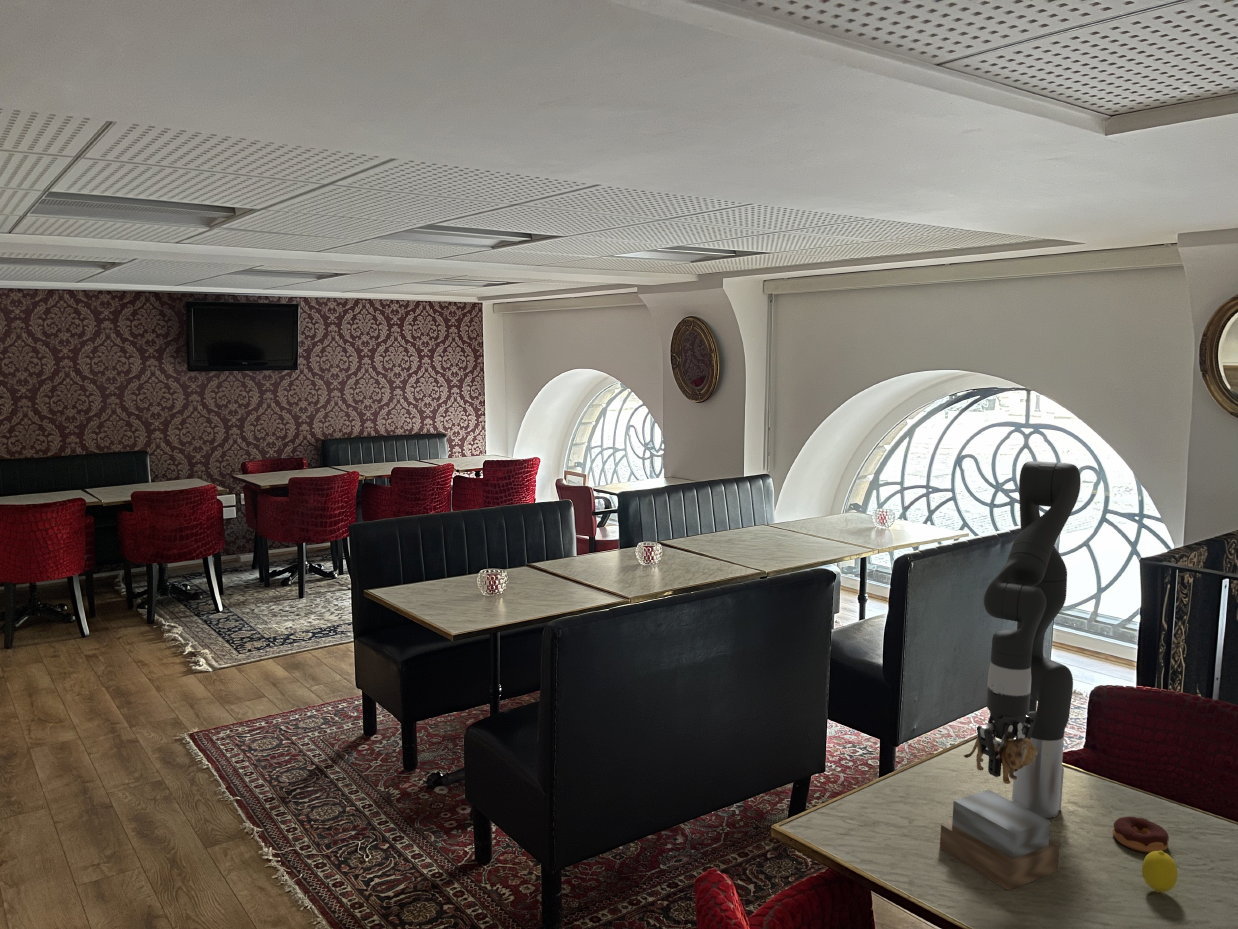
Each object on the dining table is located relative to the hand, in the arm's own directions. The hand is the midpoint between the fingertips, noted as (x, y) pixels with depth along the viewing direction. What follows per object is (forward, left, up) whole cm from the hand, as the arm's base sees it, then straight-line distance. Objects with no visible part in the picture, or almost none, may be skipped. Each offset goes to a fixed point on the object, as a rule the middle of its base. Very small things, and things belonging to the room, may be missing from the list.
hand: (1003, 772), depth 174 cm
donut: (-31, +9, -18) cm, 37 cm away
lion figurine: (0, -1, -1) cm, 2 cm away
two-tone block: (0, 0, -18) cm, 18 cm away
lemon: (-17, +21, -18) cm, 32 cm away
